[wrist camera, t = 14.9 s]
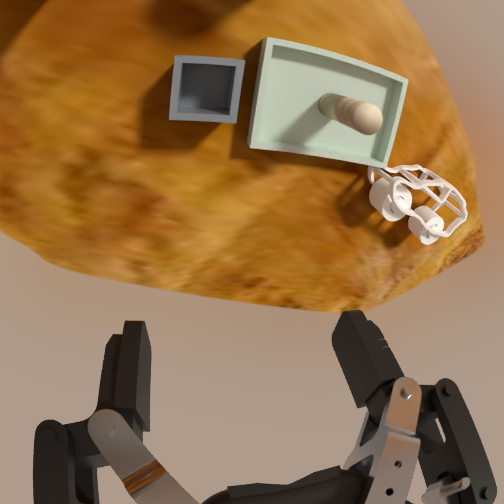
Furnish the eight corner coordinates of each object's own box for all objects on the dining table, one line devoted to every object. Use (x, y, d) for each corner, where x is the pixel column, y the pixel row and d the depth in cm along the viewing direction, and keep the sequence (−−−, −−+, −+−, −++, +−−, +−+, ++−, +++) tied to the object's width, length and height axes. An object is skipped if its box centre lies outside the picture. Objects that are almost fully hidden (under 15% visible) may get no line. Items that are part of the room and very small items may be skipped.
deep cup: (179, 58, 28) (175, 55, 23) (237, 62, 29) (245, 60, 24) (174, 111, 32) (168, 120, 27) (230, 114, 33) (236, 123, 28)
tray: (262, 39, 28) (267, 37, 26) (396, 77, 32) (408, 79, 30) (246, 142, 36) (249, 148, 33) (375, 161, 40) (385, 168, 38)
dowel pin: (320, 90, 32) (358, 100, 24) (344, 96, 33) (385, 108, 25) (316, 114, 34) (351, 131, 26) (339, 119, 35) (378, 138, 27)
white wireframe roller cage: (351, 191, 43) (373, 213, 37) (387, 133, 38) (417, 148, 32) (418, 234, 51) (439, 256, 45) (448, 190, 45) (473, 209, 40)
